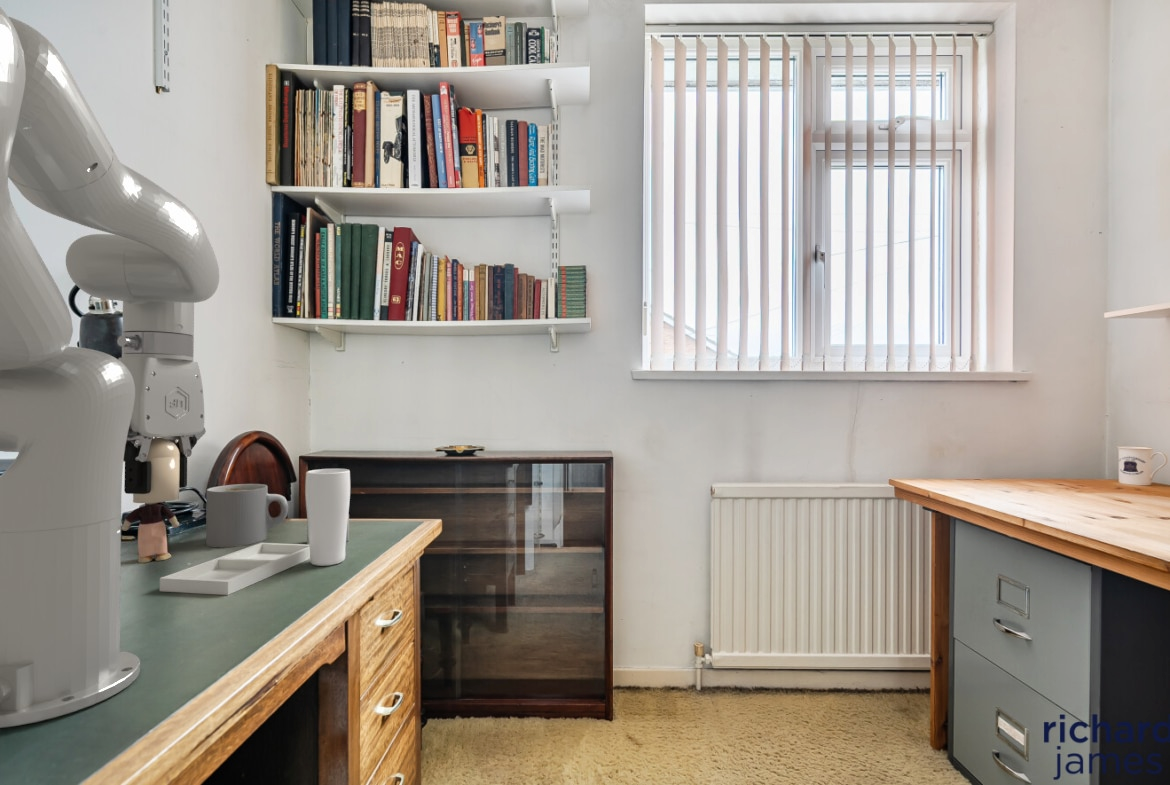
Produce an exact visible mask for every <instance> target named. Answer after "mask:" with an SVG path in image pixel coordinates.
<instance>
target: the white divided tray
mask: <svg viewBox="0 0 1170 785" xmlns="http://www.w3.org/2000/svg"><path fill="white" fill-rule="evenodd" d="M308 560H310V545H309V544H307V543H306V544H303V543H300V544H299V543H276V542H258V543H255V544H252V545H250V546H248V547H244V548H242V549H239V550H237V551H233V552H230V553H227V554H225V555H223V556H220V557H217V558H213V559H211V560H208V561H205V562H203V563H200V564H196V565H193V566H191V567H188V568H184V569H181V570H179V571H177V572H174V573H171V574H168V575H165V576H161V577H160V578H159V592H168V593H170V592H171V593H187V594H203V595H221V596H229V595H231V594H234V593H235V592H238V591H241V590H243V589H245V588H247V587H249V586H252V585H254V584H256V583H258V582H260V581H263V580H265V579H267V578H270V577H272V576H274V575H277V574H279V573H281V572H283V571H286V570H288V569H290V568H292V567H294V566H297V565H299V564H301V563H303V562H306V561H308Z"/></svg>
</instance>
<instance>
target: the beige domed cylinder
mask: <svg viewBox="0 0 1170 785" xmlns="http://www.w3.org/2000/svg"><path fill="white" fill-rule="evenodd" d="M146 461H151V464H152V465H151V491H150V493H147V494H132V502H133V503H134V504H145V503H157V502H158V503H164V502H165V503H166V502H172V501H177V500H179V499H180V488H179V475H180V453H179V449H178V448H177V446H176V445H175V444H174V443H173V442H171V441H170V440H167V439H164V438H163V437H152V440H151V444H150V448H149V452H148V456H147V459H146ZM158 503H157V504H158Z"/></svg>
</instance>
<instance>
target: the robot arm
mask: <svg viewBox="0 0 1170 785" xmlns="http://www.w3.org/2000/svg"><path fill="white" fill-rule="evenodd" d="M65 62H66V61H64V59H63V57H62V56H61V53H59V51H58V50H57V49H56V48H55V46H54V45H53V43H52V42H50V41H49V39H48V38H46V37H45V35H43V34H42V33H41V32H39V31H38V30H36V28H34V27H32V26H30V25H29V24H27V23H25V22H22V21H21V20H19V19H15V18H14V17H11V16H8V15H7V13H6V12H5V11H4V9H2V7H0V452H6V453H13V452H14V453H18V454H17V456H16V457H15V459H14V460H13V461H12V462H11V464H10V465H9V466H8V467H7V468H6V469H5V471H3V473H2V474H1V475H0V729H2V728H3V729H4V728H11V727H19V726H23V725H28V724H33V723H34V724H35V723H39V722H43V721H47V720H51V719H55V718H58V717H61V716H64V715H65V716H66V715H67V714H72V713H74V712H78V711H80V710H82V709H85V708H89V707H91V706H93V705H95V704H98V703H101V702H102V701H105V700H107V699H109V698H110V697H113V696H115V695H117V694H118V693H120V692H122V691H124V689H126V688H127V687H129V686H130V684H132V683H133V682H134V681H135V680H137V678H138V676H140V673H141V672H140V671H141V660H140V657H138V656H137V655H136V654H134V653H131V652H129V651H122V650H121V579H122V578H121V577H122V576H121V572H122V570H121V569H122V568H121V567H122V565H121V564H122V562H121V560H122V558H121V556H122V537H121V536H122V529H121V527H122V489H123V488H124V489H123V490H124V493H125V494H127V495H128V494H129V495H130V494H131V495H133V494H147V493H150V491H151V465H152V464H151V461H146V459H147V456H148V452H149V448H150V444H151V440H152V439H153V438H164V439H167V440H170V441H171V442H173V443H174V444H175V445H176V446H177V448H178V449H179V453H180V475H179V489H182V488H187V485H188V458H189V457H191V456H192V450H193V448H194V447H195V446H196V444H197V442H198V441H199V440H200V439H201V438H202V437H203V436H204V435H205V434H206V427H205V402H204V389H203V382H202V374H201V371H200V366H199V362H198V361H194V348H195V346H194V344H195V343H194V342H195V340H194V339H195V337H194V336H195V331H194V330H195V303H201V302H204V301H207V300H208V299H210V298H211V297H213V296H214V295H215V293H216V292H217V290H218V287H219V283H220V269H219V264H218V263H219V262H218V260H217V256H216V253H215V250H214V249H213V246H212V243H211V241H210V240H209V238H208V234H207V233H206V231H205V228H204V227H203V224H202V222H201V221H200V219H199V218H198V217H197V216H196V214H195V213H194V212H193V210H191V209H190V208H189V207H188V206H187V205H186V204H185V203H183V201H181V200H180V199H178V198H177V197H175V196H174V195H173V194H171V193H170V192H168V191H167V190H165V189H164V188H162V187H161V186H160V185H158V184H156V183H155V182H154V181H152V180H150V179H149V178H147V177H146V176H144V175H142V174H141V173H139V172H138V171H137V170H134V169H132V168H130V167H128V166H127V165H125V164H123V163H122V162H121V161H120V160H119V158H118V156H117V154H116V152H115V150H114V149H113V146H112V145H111V143H110V141H109V139H108V138H107V137H106V134H105V132H104V131H103V129H102V127H101V125H100V123H99V121H98V120H97V118H96V116H95V114H94V112H93V111H92V109H91V107H90V106H89V103H88V102H87V100H86V98H85V97H84V96H85V95H83V93H82V91H81V89H80V87H79V86H78V84H77V82H76V80H75V79H74V77H73V75H72V73H71V71H70V69H69V68H68V66H67V65H66V63H65ZM9 180H10V181H11V182H12V184H13V185H14V186H15V188H16V189H17V190H18V191H19V192H20V194H21V195H22V197H24V198H25V199H26V200H27V201H28V202H30V203H31V204H32V205H34V206H35V207H37V208H38V209H40V210H43V211H44V212H46V213H48V214H50V215H53V216H56V217H59V218H61V219H63V220H66V221H69V222H73V223H76V224H78V225H81V226H84V227H87V228H91V229H93V230H97V231H100V232H104V233H95V234H88V235H83V236H80V237H79V238H77V239H75V240H74V241H73V242H72V243H71V244H70V246H68V249H67V251H66V255H65V268H66V270H67V274H68V275H69V278H70V279H71V280H72V282H73V283H74V284H75V286H76V287H78V288H79V289H80V290H82V292H84V293H85V294H87V295H89V296H92V297H94V298H98V299H102V300H109V301H120V302H122V327H121V328H122V330H121V331H122V332H121V333H122V334H121V335H120V336H118V337H117V339H116V340H117V341H116V343H117V345H118V346H119V347H121V357H118V358H116V357H115V356H112V355H111V354H109V353H106V352H103V351H101V350H100V351H99V350H95V349H91V348H85V347H81V346H80V347H78V346H69V344H70V343H71V340H72V336H73V332H74V330H73V329H74V327H73V322H72V321H73V320H72V315H71V311H70V310H69V307H68V304H67V303H66V300H65V298H64V297H63V294H62V293H61V291H60V288H59V287H58V285H57V283H56V282H55V280H54V278H53V275H52V274H51V273H50V272H51V271H50V270H49V269H48V266H46V263H45V262H44V260H43V258H42V256H41V255H40V252H39V251H38V250H37V248H36V245H35V244H34V243H33V240H32V238H31V237H30V234H29V233H28V232H27V230H26V228H25V226H24V224H23V223H22V221H21V218H20V217H19V215H18V212H17V210H16V209H15V207H14V204H13V202H12V199H11V195H10V189H9ZM177 440H178V441H177ZM176 441H177V442H176ZM136 442H137V443H138V444H137V446H136ZM123 468H124V485H123V482H122V481H123ZM122 486H124V487H123V488H122Z"/></svg>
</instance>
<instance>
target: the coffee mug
mask: <svg viewBox="0 0 1170 785" xmlns="http://www.w3.org/2000/svg"><path fill="white" fill-rule="evenodd" d="M268 488H269V487H268V485H267V484H263V483H262V484H261V483H240V484H239V483H238V484H228V485H225V484H224V485H219V486H213V487H209V488H207V489H206V501H205V502H206V516H205V519H206V520H205V521H206V524H205V525H206V528H205V530H206V531H205V532H206V533H205V534H206V535H205V544H206V546H208V547H213V548H214V547H215V548H232V547H240V546H241V547H242V546H249V545H255V544H259V543H262V542H263V541H266V540H267V539H268V533H269V531H270V529H271V528H273V527H275V526H278V525H280V524H282V523H283V522H284V521H285V520H286V518H287V516H288V513H289V512H288V511H289V503H288V500H287V499H286V497H285V496H283V495H281V494H277V493H268ZM272 502H277V503H278V504H279V506H280V513H279V514H278V516H276V517H273V516H271V515H270V512H269V508H270V504H272Z"/></svg>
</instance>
